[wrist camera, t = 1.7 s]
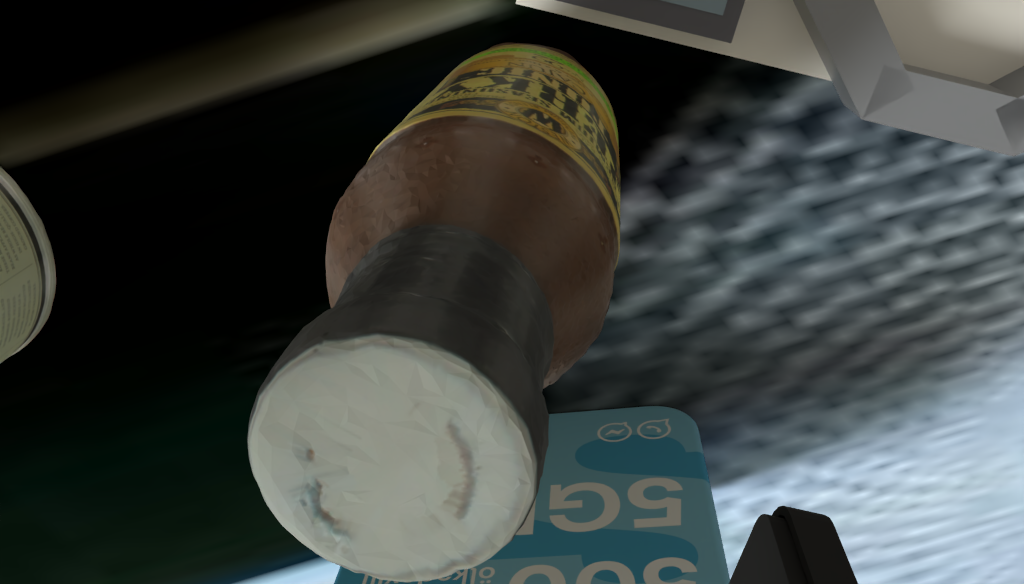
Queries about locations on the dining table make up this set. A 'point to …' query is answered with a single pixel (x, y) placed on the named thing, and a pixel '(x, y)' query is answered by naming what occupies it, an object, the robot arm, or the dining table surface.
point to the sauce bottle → (447, 321)
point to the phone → (676, 14)
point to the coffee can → (22, 269)
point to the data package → (610, 508)
